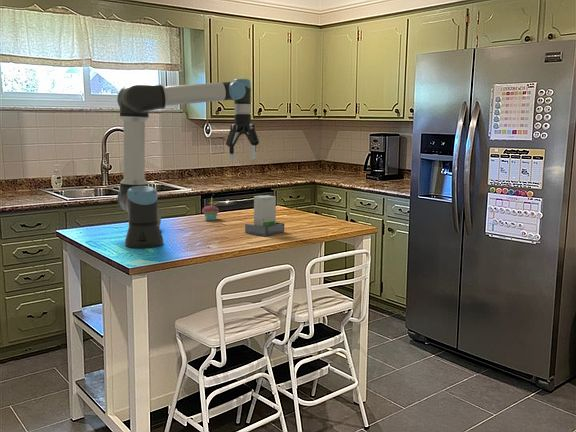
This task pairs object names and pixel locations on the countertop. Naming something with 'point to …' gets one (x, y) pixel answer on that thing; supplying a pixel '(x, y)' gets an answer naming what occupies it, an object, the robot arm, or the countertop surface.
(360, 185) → the countertop surface
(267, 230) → the tray
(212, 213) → the cupcake
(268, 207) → the skincare box
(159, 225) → the garlic bulb
